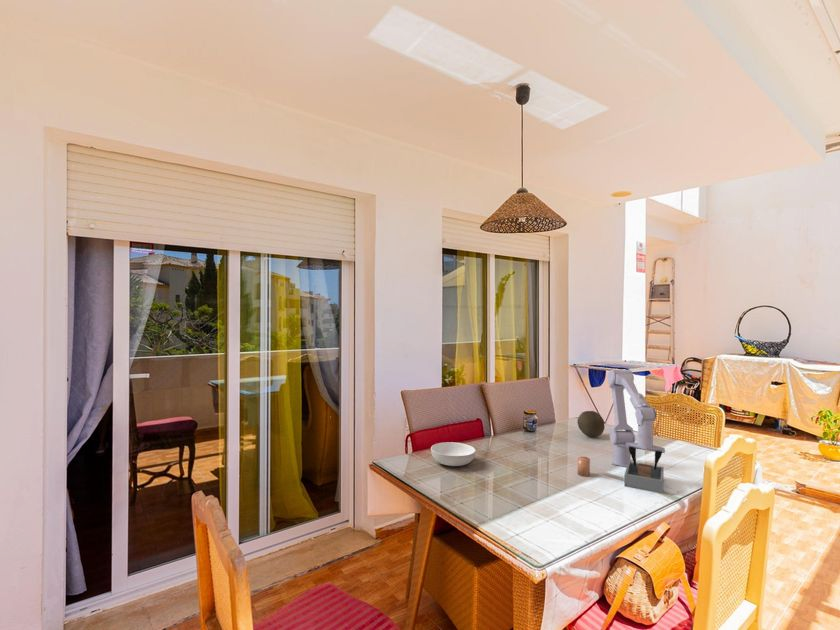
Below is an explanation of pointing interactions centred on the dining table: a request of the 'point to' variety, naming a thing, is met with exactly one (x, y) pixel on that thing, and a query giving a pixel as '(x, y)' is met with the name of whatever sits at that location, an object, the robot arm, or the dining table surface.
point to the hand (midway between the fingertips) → (644, 467)
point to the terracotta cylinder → (583, 466)
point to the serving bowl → (453, 453)
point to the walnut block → (645, 470)
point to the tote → (644, 479)
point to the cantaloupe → (591, 423)
